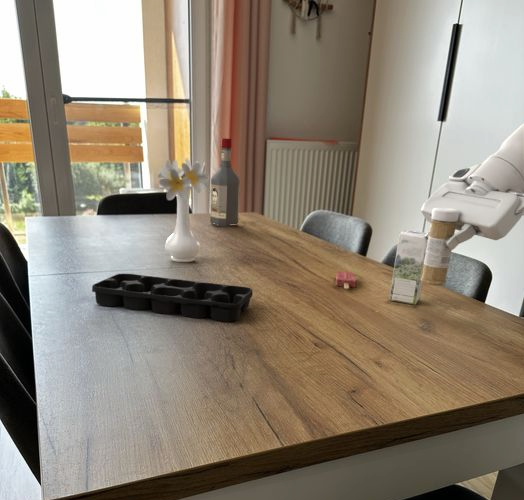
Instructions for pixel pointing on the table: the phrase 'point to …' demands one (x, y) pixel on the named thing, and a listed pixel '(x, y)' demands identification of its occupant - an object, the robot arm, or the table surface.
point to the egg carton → (173, 296)
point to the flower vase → (183, 206)
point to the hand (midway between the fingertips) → (436, 243)
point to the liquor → (225, 190)
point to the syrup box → (408, 267)
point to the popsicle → (345, 279)
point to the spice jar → (439, 246)
